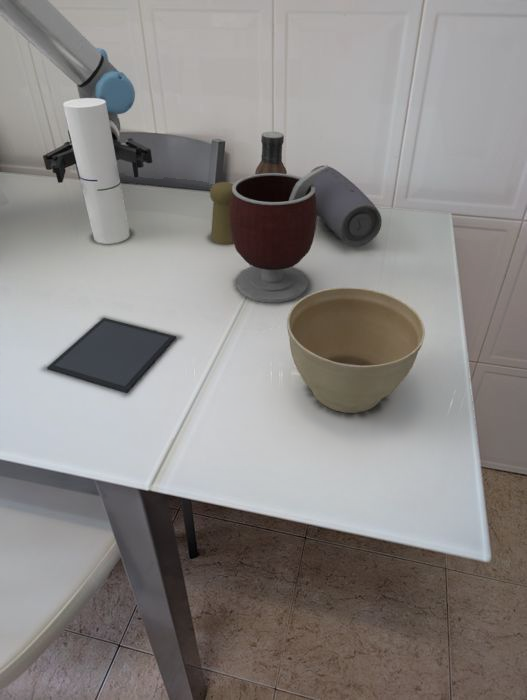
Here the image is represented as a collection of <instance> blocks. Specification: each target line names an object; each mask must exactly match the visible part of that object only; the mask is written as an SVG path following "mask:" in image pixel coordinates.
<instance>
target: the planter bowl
mask: <svg viewBox="0 0 527 700" xmlns="http://www.w3.org/2000/svg"><path fill="white" fill-rule="evenodd" d="M286 329H287V334H288V339H289V348H290V353H291V357H292V360H293V364H294V366H295V367H296V370H297V371H298V373H299V376H300V377H301V378H302V380H303V381H304V383H305V384H306V385H307V387H308V388H309V389H310V390H311V392H312V395H313V396H314V398H315V399H316V400H317V401H318V402H319V403H320V404H321V405H323V406H324V407H327V408H328V409H331V410H332V411H336V412H340V413H346V414H355V413H356V414H357V413H362V412H366V411H369V410H370V409H373V408H374V407H376V406H377V405H378V404H379V403H380V402H381V401H382V399H384V398H385V397H387V396H389V395H390V394H391V393H392V392H393V391H395V390H396V389H397V388H398V387H399V386H400V385H401V384H402V382H403V381H404V380H405V379H406V377H407V376H408V375H409V373H410V371H411V370H412V368H413V367H414V364H415V361H416V359H417V357H418V354H419V351H420V350H421V348H422V346H423V343H424V340H425V335H426V329H425V325H424V322H423V320H422V318H421V316H420V315H419V313H418V312H417V311H416V310H414V308H413V307H412V306H410V305H409V304H407V303H406V302H405V301H403V300H401V299H400V298H397V297H395V296H394V295H391V294H388V293H385V292H382V291H379V290H374V289H370V288H363V287H352V286H351V287H350V286H347V287H346V286H343V287H342V286H341V287H329V288H325V289H321V290H317V291H314V292H311V293H309V294H307V295H306V296H303V297H302V298H300V299H299V300H298V301H297V302H296V303H294V305H293V306H292V307H291V308H290V311H289V313H288V315H287V319H286Z"/></svg>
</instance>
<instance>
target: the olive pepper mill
mask: <svg viewBox="0 0 527 700" xmlns="http://www.w3.org/2000/svg"><path fill="white" fill-rule="evenodd" d="M233 184H234V183H231V182H228V181H220V182H215V183H214V184H212V186H211V187H210V190H209V196H210V199H211V201H212V216H211V217H212V218H211V229H210V231H211V233H210V240H211V241H212V242H213V243H215V244H218V245H219V244H220V245H231V244H234V242H233V239H232V234H231V229H230V201H231V195H232V186H233Z"/></svg>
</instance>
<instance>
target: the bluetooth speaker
mask: <svg viewBox="0 0 527 700" xmlns="http://www.w3.org/2000/svg"><path fill="white" fill-rule="evenodd" d="M324 166H325V165H319V166H316V167H314V168H313V169H312V170H311V171H310V172H312V171H314V170H317V169H319V168H321V167H324ZM328 167H329V171H326V172H324V173H322V174H321V175H319V176H318V177H317V178H316V179H315V180H314V181H313V183H312V184H313V185H314V186H315V196H316V205H317V216H318V217H319V218H320V219H321V221H322V222H323V223H324V224H325V225H326V226H327V227H328V228H329V229H330V230H331V231H332V233H333V234H334V235H335V236H336V237H338V238H339V239H340V240H342V241H343V242H344V243H346V244H347V245H349V246H351V247H360V246H365V245H367V244H369V243H371V242H372V241H374V239H375V238H377V236H378V235H379V233H380V231H381V229H382V225H383V223H382V222H383V221H382V216H381V212H380V211H379V210H378V208H377V207H376V205H375V204H374V203H373V202H372V201H371V199H370V198H369V197H368V196H367V195H366V194H365V193H364V192H363V191H362V190H361V188H359V187H358V186H357V185H356V184H354V182H352V181H351V180H350V179H348V177H346V176H345V175H343V173H342V172H339V170H337V169H335V168H334V167H331V166H329V165H328Z"/></svg>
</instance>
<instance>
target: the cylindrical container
mask: <svg viewBox="0 0 527 700" xmlns="http://www.w3.org/2000/svg"><path fill="white" fill-rule="evenodd" d="M62 106H63V111H64V115H65V119H66V123H67V128H68V132H69V136H70V142H71V144H72V146H73V150H74V154H75V159H76V163H77V164H76V167H77V170H78V176H79V180H80V183H81V189H82V193H83V196H84V202H85V206H86V210H87V214H88V215H87V216H88V219H89V223H90V228H91V231H92V237H93V240H94V241H95V242H96V243H98V244H105V245H109V244H110V245H112V244H118V243H121V242H124V241H125V240H127V239H128V238H129V237H130V228H129V222H128V217H127V211H126V207H125V202H124V195H123V188H122V184H121V178H120V172H119V168H118V162H117V161H118V160H116V156H115V150H114V145H113V139H112V134H111V128H110V123H109V117H108V112H107V106H106V101H105V100H103V99H98V98H81V99H80V98H75V99H69V100H66V101H64V102H63V103H62Z"/></svg>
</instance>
